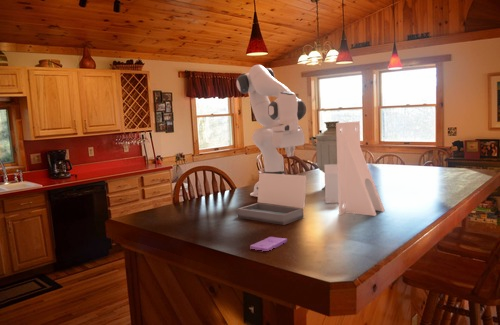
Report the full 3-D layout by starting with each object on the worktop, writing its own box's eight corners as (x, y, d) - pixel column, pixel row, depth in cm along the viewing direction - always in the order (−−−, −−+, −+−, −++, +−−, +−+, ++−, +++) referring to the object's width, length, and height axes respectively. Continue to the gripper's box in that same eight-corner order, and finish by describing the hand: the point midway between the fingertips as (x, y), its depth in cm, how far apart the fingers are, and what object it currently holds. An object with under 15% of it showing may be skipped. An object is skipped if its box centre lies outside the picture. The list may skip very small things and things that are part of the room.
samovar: (372, 188, 236) (370, 119, 232) (341, 194, 221) (338, 121, 217) (335, 183, 260) (333, 121, 256) (304, 188, 246) (302, 123, 242)
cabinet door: (259, 172, 191) (261, 173, 192) (257, 202, 191) (259, 202, 192) (305, 175, 174) (307, 175, 175) (303, 208, 173) (305, 207, 175)
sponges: (250, 250, 135) (249, 245, 135) (270, 240, 145) (270, 235, 145) (267, 253, 131) (267, 248, 131) (287, 243, 141) (287, 238, 141)
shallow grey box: (237, 217, 181) (237, 208, 180) (258, 211, 191) (257, 202, 191) (284, 225, 163) (283, 215, 163) (303, 217, 174) (303, 208, 173)
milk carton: (340, 203, 199) (338, 165, 197) (325, 203, 201) (324, 165, 199) (339, 200, 206) (338, 163, 204) (325, 200, 208) (324, 163, 206)
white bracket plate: (369, 218, 167) (367, 121, 163) (338, 214, 177) (336, 123, 173) (389, 208, 182) (387, 120, 178) (359, 205, 192) (357, 121, 187)
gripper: (296, 126, 196) (297, 154, 197) (269, 128, 181) (271, 158, 182) (307, 125, 191) (308, 154, 193) (281, 127, 176) (282, 158, 178)
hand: (290, 156), depth 187 cm, fingers closed
